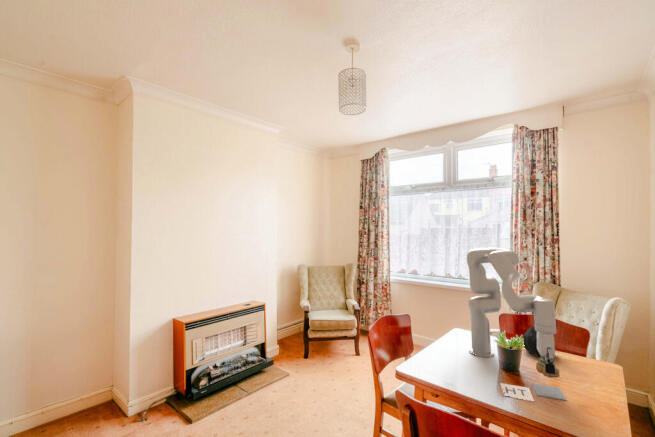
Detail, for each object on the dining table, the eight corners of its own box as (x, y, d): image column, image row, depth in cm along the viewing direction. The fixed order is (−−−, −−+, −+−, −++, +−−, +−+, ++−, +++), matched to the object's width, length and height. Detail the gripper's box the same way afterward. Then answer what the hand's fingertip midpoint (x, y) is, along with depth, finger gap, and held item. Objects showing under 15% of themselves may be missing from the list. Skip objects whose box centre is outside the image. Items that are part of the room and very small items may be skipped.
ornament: (562, 378, 125) (561, 353, 125) (550, 379, 124) (548, 355, 124) (546, 369, 132) (544, 346, 133) (534, 370, 131) (532, 347, 132)
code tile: (500, 383, 136) (500, 382, 136) (528, 388, 131) (528, 387, 131) (503, 396, 126) (503, 395, 126) (534, 401, 121) (534, 401, 121)
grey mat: (532, 384, 135) (532, 383, 135) (559, 388, 130) (559, 387, 130) (537, 395, 125) (537, 394, 125) (566, 400, 121) (566, 399, 121)
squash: (559, 352, 154) (552, 324, 164) (525, 349, 161) (520, 322, 170) (555, 362, 163) (549, 335, 173) (523, 359, 170) (519, 333, 179)
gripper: (530, 321, 138) (532, 359, 138) (539, 333, 122) (541, 376, 122) (550, 322, 135) (552, 361, 135) (561, 335, 119) (564, 379, 119)
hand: (547, 368), depth 128 cm, fingers closed on ornament, 8 cm apart
